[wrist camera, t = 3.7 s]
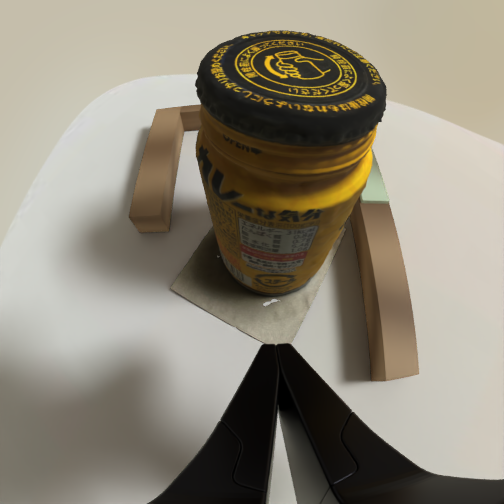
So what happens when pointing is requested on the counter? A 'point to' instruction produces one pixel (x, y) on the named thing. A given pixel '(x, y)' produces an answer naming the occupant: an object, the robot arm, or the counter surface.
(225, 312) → the condiment
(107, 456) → the counter surface
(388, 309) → the rail bay
